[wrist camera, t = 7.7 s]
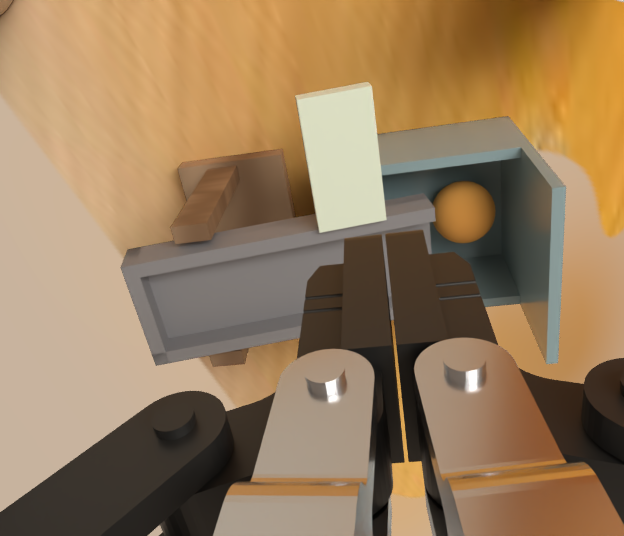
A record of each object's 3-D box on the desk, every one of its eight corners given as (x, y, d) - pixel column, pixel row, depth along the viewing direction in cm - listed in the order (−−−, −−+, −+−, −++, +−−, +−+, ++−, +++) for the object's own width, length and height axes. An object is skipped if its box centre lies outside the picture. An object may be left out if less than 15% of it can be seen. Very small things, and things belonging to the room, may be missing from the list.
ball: (431, 255, 38) (496, 253, 37) (427, 197, 36) (495, 193, 35) (435, 227, 42) (495, 225, 40) (431, 173, 40) (494, 169, 38)
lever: (160, 343, 37) (155, 369, 34) (85, 127, 30) (72, 142, 28) (431, 291, 37) (443, 314, 35) (414, 66, 30) (427, 75, 28)
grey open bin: (366, 272, 44) (368, 378, 33) (347, 138, 39) (344, 213, 29) (508, 257, 42) (558, 363, 32) (508, 116, 38) (565, 186, 27)
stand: (216, 287, 45) (182, 373, 36) (182, 162, 41) (133, 226, 32) (307, 277, 44) (294, 363, 36) (282, 148, 40) (260, 210, 31)
